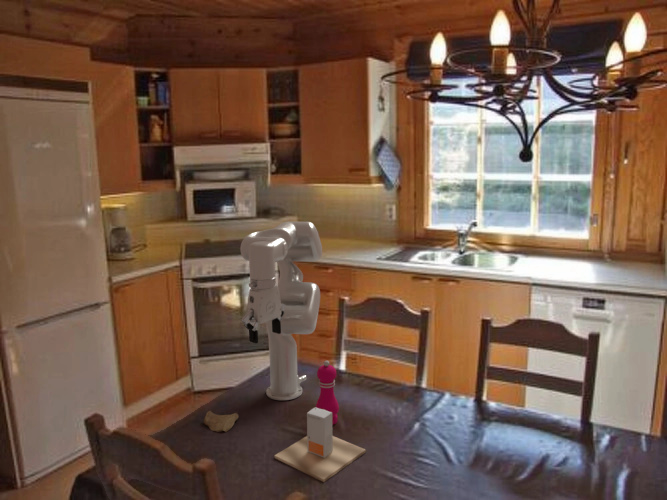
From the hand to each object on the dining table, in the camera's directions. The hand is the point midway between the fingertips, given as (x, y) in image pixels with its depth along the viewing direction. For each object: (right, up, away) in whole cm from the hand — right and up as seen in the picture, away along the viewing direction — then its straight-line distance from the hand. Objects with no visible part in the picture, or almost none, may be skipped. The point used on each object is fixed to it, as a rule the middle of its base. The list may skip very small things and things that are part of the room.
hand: (265, 337), depth 167 cm
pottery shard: (-15, -28, +5) cm, 32 cm away
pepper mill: (+19, -27, +5) cm, 34 cm away
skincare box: (+17, -30, -14) cm, 37 cm away
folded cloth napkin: (+17, -31, -14) cm, 38 cm away
